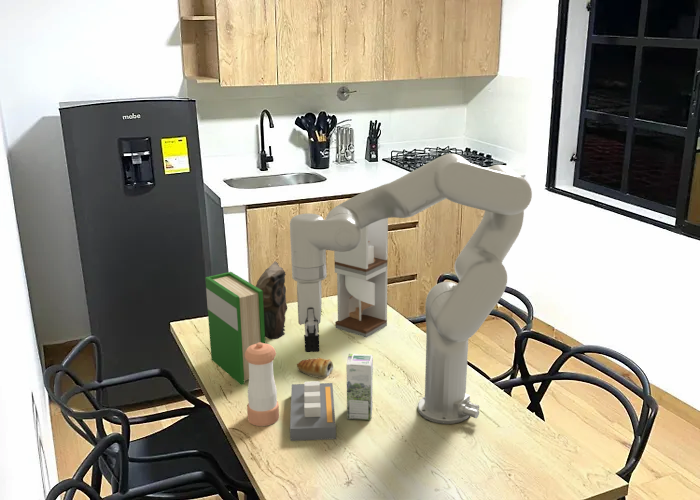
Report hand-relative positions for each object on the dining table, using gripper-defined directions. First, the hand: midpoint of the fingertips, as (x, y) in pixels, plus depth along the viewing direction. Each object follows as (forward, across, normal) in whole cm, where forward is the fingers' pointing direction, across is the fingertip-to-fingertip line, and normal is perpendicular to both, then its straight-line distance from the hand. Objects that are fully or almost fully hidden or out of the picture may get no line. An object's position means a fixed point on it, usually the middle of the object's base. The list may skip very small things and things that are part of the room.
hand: (312, 341), depth 161 cm
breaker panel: (+19, 0, -1) cm, 19 cm away
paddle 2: (+16, +5, 0) cm, 16 cm away
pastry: (+20, -22, +1) cm, 29 cm away
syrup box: (+19, 0, +10) cm, 22 cm away
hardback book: (+19, -26, -20) cm, 38 cm away
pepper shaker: (+19, 0, -12) cm, 22 cm away
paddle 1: (+16, -5, 0) cm, 16 cm away
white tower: (+19, -50, +14) cm, 55 cm away
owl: (+19, -50, -14) cm, 55 cm away
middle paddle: (+16, 0, 0) cm, 16 cm away
